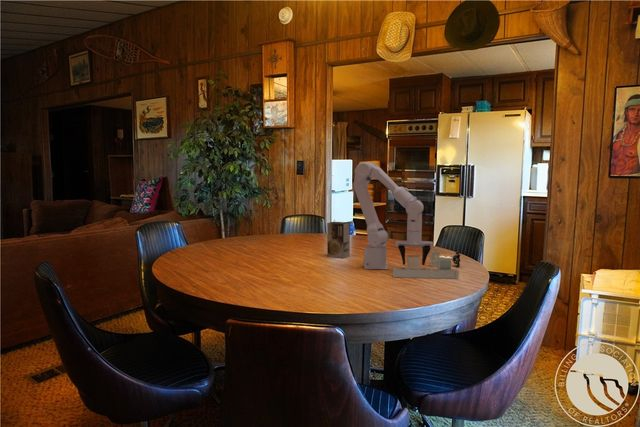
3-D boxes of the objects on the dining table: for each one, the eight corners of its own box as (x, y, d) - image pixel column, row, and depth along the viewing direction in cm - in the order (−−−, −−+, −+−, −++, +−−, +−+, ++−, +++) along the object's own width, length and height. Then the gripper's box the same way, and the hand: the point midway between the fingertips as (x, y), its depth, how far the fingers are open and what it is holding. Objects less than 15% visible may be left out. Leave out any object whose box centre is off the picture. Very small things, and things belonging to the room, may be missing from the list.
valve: (430, 267, 178) (460, 268, 177) (430, 251, 178) (460, 252, 176) (428, 264, 185) (457, 265, 183) (429, 249, 184) (457, 249, 182)
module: (409, 273, 167) (409, 258, 166) (406, 269, 173) (407, 254, 173) (420, 274, 166) (421, 258, 166) (418, 270, 173) (418, 255, 172)
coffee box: (350, 256, 201) (350, 222, 199) (343, 258, 195) (343, 223, 194) (333, 254, 206) (333, 221, 204) (326, 256, 200) (326, 222, 199)
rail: (393, 277, 160) (393, 262, 160) (391, 272, 169) (391, 257, 168) (458, 279, 158) (459, 263, 158) (453, 273, 167) (453, 258, 166)
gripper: (397, 231, 166) (396, 266, 167) (434, 232, 165) (433, 266, 166) (395, 229, 173) (394, 262, 174) (431, 229, 172) (430, 263, 173)
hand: (413, 264), depth 170 cm, fingers open, 7 cm apart
